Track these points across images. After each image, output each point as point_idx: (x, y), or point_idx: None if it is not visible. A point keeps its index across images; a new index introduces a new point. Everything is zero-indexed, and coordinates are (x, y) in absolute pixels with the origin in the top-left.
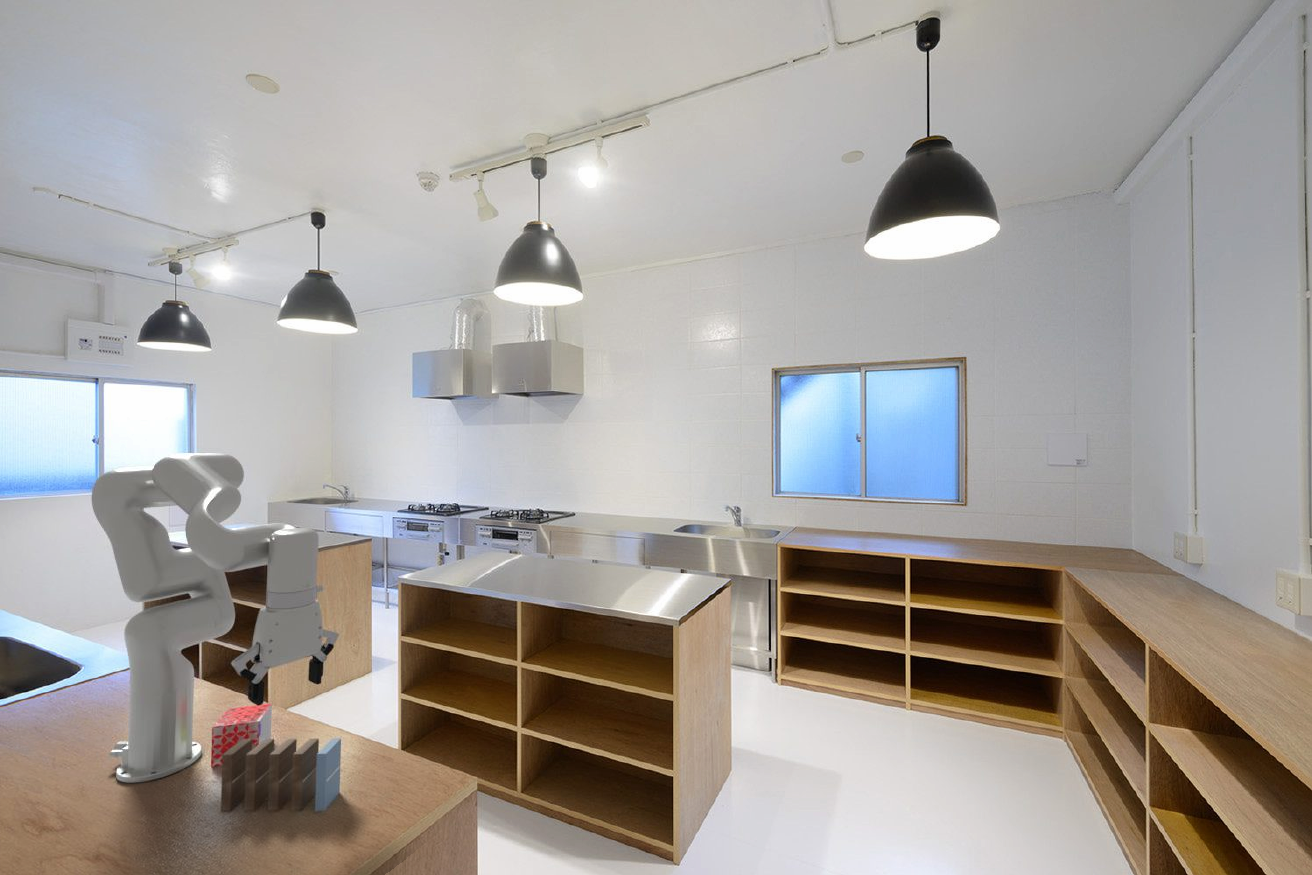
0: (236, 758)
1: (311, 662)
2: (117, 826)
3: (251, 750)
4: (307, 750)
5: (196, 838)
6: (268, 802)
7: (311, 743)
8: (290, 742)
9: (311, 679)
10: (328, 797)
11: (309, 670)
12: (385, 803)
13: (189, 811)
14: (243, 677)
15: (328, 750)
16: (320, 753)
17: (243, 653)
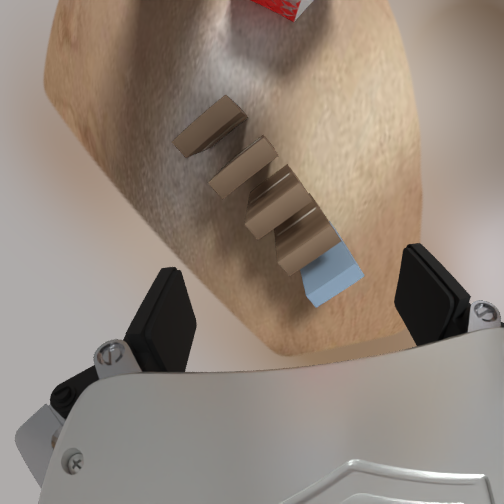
0: (201, 146)
1: (442, 318)
2: (106, 74)
3: (222, 172)
4: (304, 264)
5: (165, 179)
6: (249, 196)
7: (321, 249)
8: (295, 207)
9: (405, 272)
10: None
11: (425, 275)
12: (352, 299)
13: (171, 99)
14: (88, 372)
15: (325, 300)
16: (311, 298)
17: (41, 483)
